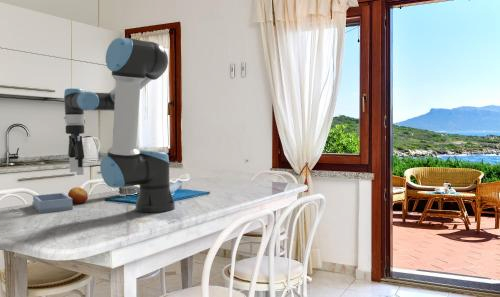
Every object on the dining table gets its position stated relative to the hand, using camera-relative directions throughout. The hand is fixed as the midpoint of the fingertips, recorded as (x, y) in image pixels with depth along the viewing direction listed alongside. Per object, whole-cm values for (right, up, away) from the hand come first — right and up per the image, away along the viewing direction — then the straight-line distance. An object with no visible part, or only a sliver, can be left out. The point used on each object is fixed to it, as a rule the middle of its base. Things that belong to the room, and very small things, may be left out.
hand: (76, 173), depth 192 cm
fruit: (0, -13, +1) cm, 13 cm away
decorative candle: (+16, -12, +22) cm, 30 cm away
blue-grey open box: (-7, -14, -8) cm, 17 cm away
